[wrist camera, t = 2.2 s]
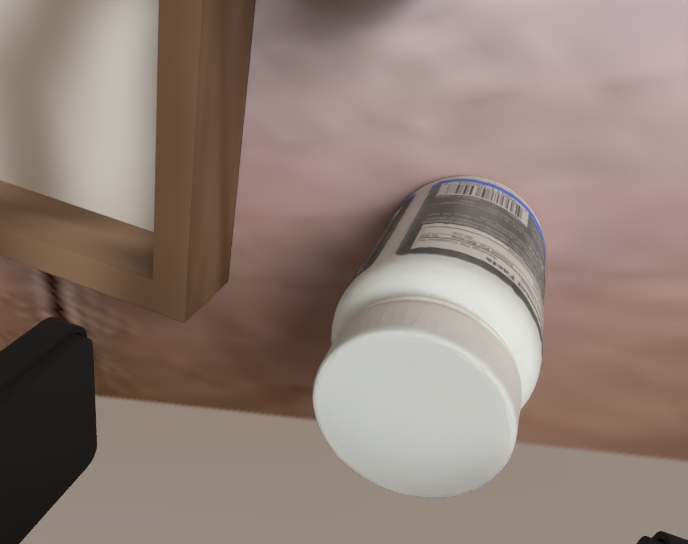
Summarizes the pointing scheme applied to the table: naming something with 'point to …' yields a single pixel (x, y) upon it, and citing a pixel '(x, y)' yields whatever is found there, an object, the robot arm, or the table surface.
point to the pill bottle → (437, 342)
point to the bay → (124, 143)
